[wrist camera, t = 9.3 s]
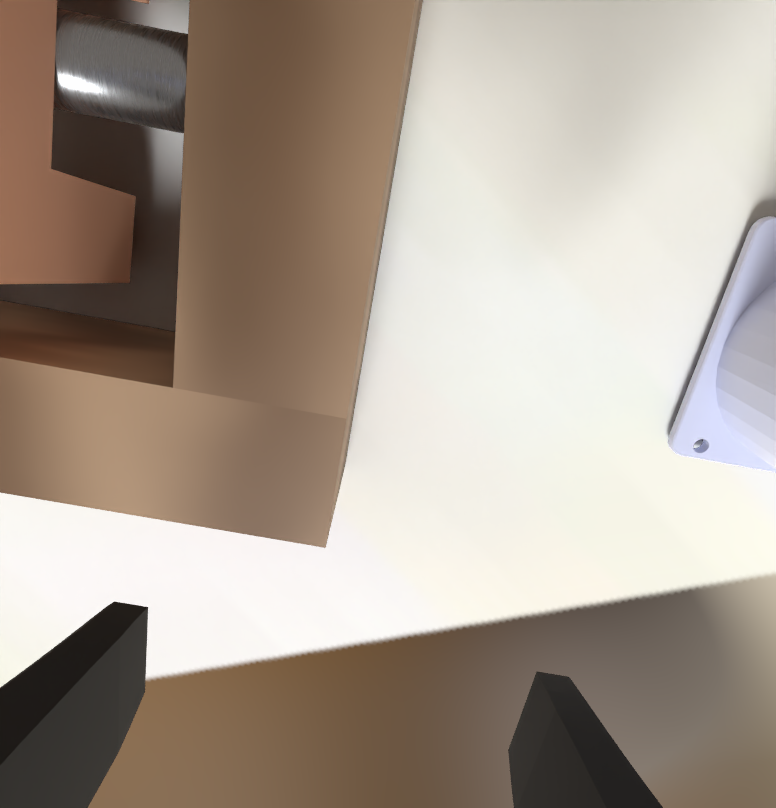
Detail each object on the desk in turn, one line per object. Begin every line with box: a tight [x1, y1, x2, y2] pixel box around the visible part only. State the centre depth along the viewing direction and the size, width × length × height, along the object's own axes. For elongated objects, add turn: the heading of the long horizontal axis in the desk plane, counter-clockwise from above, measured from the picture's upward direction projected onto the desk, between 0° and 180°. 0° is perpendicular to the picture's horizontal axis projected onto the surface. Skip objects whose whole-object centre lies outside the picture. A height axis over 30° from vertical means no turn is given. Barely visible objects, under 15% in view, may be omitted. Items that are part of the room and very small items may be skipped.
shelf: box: [0, 0, 423, 548], centre depth 14 cm, size 18×22×5 cm
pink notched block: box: [0, 0, 149, 284], centre depth 12 cm, size 4×10×6 cm, turn 170°
